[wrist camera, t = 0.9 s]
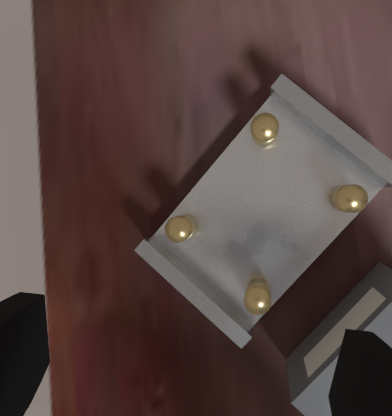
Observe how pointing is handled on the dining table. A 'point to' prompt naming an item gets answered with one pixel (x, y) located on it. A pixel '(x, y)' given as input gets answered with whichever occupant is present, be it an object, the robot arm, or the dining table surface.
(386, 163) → the pin tray
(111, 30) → the dining table surface
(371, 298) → the block
